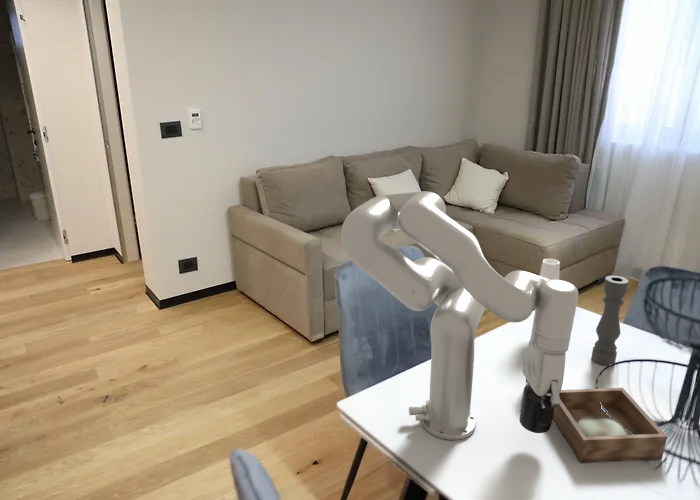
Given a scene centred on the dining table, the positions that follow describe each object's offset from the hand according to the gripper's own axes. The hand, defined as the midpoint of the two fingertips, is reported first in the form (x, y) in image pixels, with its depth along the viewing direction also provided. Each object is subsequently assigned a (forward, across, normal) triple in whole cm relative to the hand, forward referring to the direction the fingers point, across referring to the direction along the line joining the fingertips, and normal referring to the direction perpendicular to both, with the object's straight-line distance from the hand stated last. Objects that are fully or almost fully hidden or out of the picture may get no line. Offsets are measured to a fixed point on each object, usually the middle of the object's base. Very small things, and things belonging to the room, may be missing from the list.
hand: (537, 409), depth 119 cm
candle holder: (+9, -33, +33) cm, 48 cm away
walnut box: (+9, -2, +17) cm, 19 cm away
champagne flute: (+10, -50, +22) cm, 56 cm away
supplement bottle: (+4, 0, 0) cm, 4 cm away
